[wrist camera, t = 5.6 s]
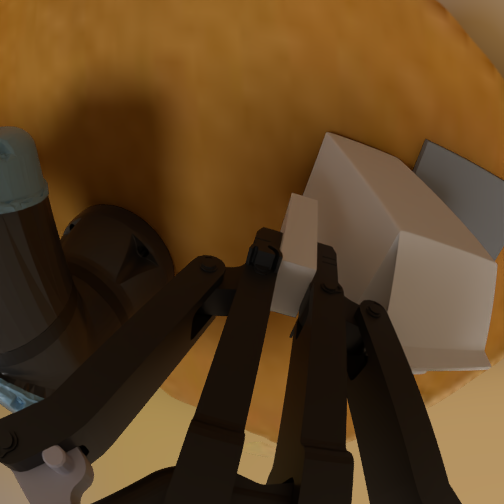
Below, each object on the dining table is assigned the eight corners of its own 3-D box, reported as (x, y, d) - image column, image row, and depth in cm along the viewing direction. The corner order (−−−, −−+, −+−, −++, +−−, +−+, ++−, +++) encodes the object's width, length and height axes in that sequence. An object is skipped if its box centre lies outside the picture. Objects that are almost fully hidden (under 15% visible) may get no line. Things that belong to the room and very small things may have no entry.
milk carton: (325, 130, 24) (443, 300, 8) (398, 157, 25) (536, 318, 9) (298, 204, 28) (342, 410, 12) (367, 223, 29) (448, 405, 13)
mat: (376, 248, 30) (378, 253, 29) (425, 138, 23) (428, 141, 23) (475, 282, 30) (477, 286, 29) (525, 194, 23) (529, 197, 22)
